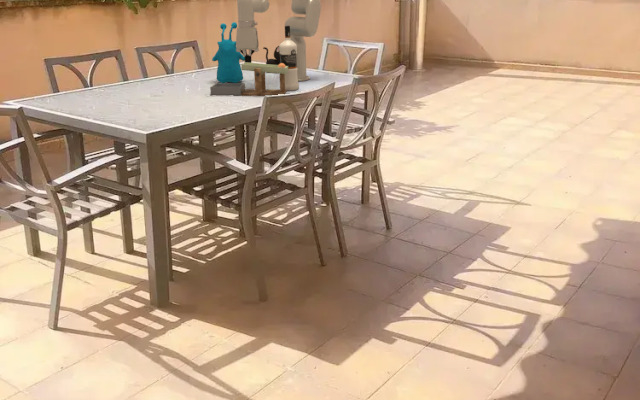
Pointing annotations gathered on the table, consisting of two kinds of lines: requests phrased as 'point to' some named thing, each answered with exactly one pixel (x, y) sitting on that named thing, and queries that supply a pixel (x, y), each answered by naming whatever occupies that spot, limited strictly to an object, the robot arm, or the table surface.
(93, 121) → the table surface
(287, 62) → the vodka
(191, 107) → the table surface
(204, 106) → the table surface
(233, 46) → the toy
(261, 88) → the stand
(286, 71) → the lever
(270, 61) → the toy
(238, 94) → the dish
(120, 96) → the table surface
